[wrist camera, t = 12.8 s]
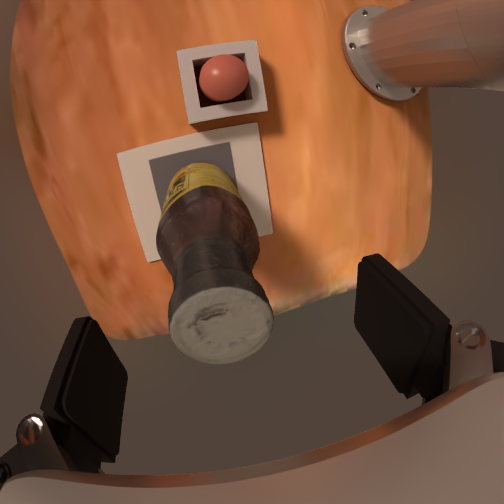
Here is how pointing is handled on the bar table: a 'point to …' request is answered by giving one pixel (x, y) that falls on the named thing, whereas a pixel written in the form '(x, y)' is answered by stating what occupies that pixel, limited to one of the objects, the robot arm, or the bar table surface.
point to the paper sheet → (187, 152)
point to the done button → (223, 78)
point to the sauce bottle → (212, 267)
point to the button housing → (253, 103)
